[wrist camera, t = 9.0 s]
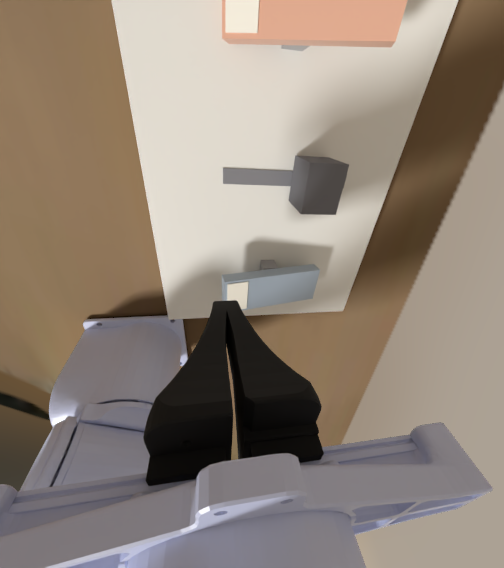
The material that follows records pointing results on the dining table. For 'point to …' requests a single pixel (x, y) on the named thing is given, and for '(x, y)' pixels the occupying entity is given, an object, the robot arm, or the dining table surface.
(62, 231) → the dining table surface
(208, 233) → the switch panel
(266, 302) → the plate
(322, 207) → the block
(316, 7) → the pink plate with label
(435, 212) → the dining table surface
